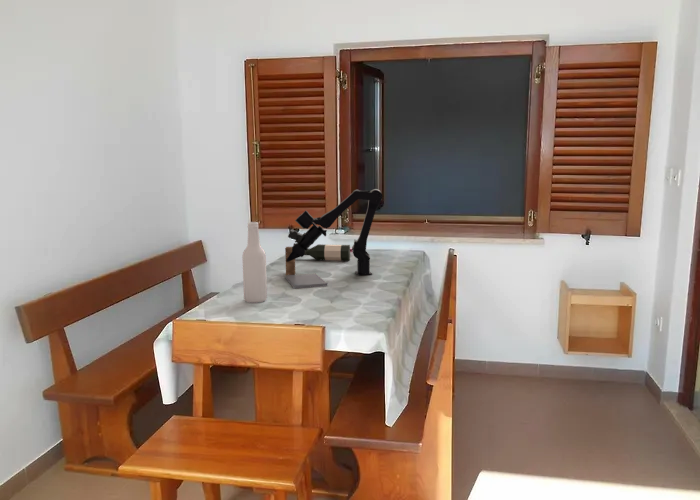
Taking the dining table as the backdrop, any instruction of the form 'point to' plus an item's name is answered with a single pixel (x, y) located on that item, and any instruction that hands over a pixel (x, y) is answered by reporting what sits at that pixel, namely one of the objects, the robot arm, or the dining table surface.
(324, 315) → the dining table surface
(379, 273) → the dining table surface
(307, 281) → the slate board
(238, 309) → the dining table surface
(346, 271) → the dining table surface
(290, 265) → the wooden pillar
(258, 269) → the alcohol
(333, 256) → the wine bottle
